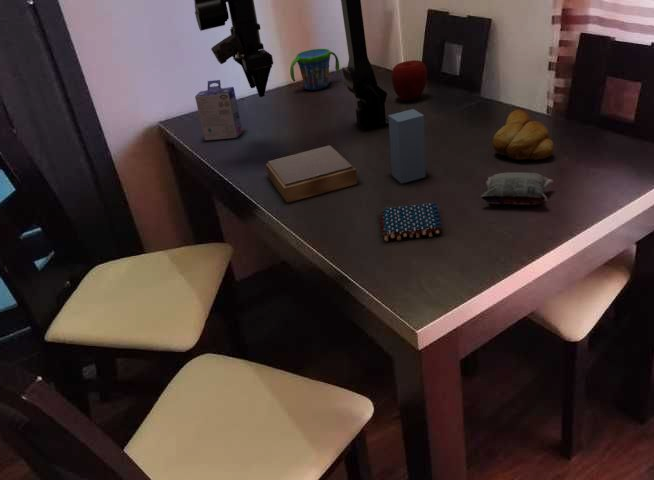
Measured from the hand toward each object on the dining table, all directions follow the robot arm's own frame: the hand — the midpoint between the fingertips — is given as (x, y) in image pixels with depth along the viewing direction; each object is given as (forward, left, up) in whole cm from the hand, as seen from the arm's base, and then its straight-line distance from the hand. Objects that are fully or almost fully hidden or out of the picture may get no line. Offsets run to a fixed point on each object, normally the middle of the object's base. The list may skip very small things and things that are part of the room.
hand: (257, 92), depth 149 cm
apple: (-44, -12, -15) cm, 48 cm away
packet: (-22, +35, -15) cm, 44 cm away
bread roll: (-46, +40, -15) cm, 63 cm away
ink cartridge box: (+8, -20, -15) cm, 26 cm away
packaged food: (-34, +57, -15) cm, 68 cm away
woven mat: (-13, +56, -15) cm, 59 cm away
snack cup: (-27, -44, -15) cm, 54 cm away
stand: (-4, +24, -15) cm, 29 cm away
